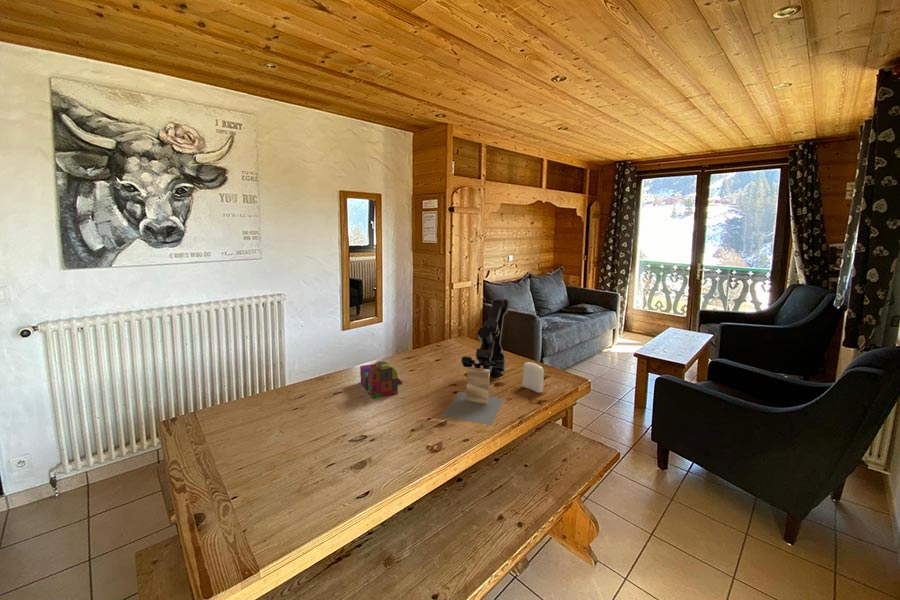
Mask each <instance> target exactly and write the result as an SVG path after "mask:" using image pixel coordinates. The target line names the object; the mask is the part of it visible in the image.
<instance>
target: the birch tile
mask: <svg viewBox="0 0 900 600" xmlns="http://www.w3.org/2000/svg"><path fill="white" fill-rule="evenodd" d="M481 368H482V367H481ZM481 368H475V367H474V366H472V367H467V370H466V393H467V401H471V402H478V403H484V404H488V402H489V396H490V382H491V381H490V380H491V376H490V370H489V369H483V368H482V369H481Z"/></svg>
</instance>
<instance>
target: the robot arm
mask: <svg viewBox="0 0 900 600" xmlns="http://www.w3.org/2000/svg"><path fill="white" fill-rule="evenodd" d="M510 307H511V301H509V299H507V298H498V297H497V298H494V299H492V300H491V310H490V312H489V317H488V319H487V320H485V321H484V323H483V325H482V326H481V327H480V328H479V329H478V330H477V336H478V339H479V342H480V347H479V348H476V350H475V351H476V352H475V357H476V359H472V356H466V355H463V356H462V357H461V360H460V362H461V364H462V366H463V368H469V367H473V368H481V369H489V370H490V377H492V378H496V377H500V376H504V373H505V372H506V359H505V355H504V350H503V347H502V344H501V343H502V336H503V329H504V327H503V326H504V319H505V316H506V315H507V314H508V313H509V309H510Z"/></svg>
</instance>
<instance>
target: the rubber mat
mask: <svg viewBox="0 0 900 600" xmlns="http://www.w3.org/2000/svg"><path fill="white" fill-rule="evenodd" d="M503 402H504V397H503V398H502V397H495V396H490V395H489V402H488V404H484V403H478V402H471V401H467V392H461V391H458V392H457V395H456V396H455V397H454V398H453V400H452V401H451V402H450V404H449V405H448V406H447V408H446V409H445V411H444V412H443V413H442V414H441V417H442V418H450V419H454V420H461V421H466V422H471V423H479V424H483V425H484V424H485V425H490V426H492V425H493V422H494V420H495V418H496V416H497V414H498V412H499V409H500V408H501V406H502V404H503Z"/></svg>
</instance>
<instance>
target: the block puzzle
mask: <svg viewBox="0 0 900 600" xmlns="http://www.w3.org/2000/svg"><path fill="white" fill-rule="evenodd" d="M359 368H360V369H359V371H360V384H361V385H362V386H363V388H364V390H365V391H367V393H368V395H369V397H370V398H371V399H379V398H383V397H388V396H389V397H390V396H394V395H395V396H396V395H398V394H399V389H398V388H399V385H403V382H402V380H401V379H400V378H399V376H398V373H397V370H396V369H395V368H394V367H393V366H392V365H391V364H390V363H389V362H388V361H383V360H382V361H381V360H380V361H377V362H375V363H372V364H367V365H366V364H365V365H361V366H359Z"/></svg>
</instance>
